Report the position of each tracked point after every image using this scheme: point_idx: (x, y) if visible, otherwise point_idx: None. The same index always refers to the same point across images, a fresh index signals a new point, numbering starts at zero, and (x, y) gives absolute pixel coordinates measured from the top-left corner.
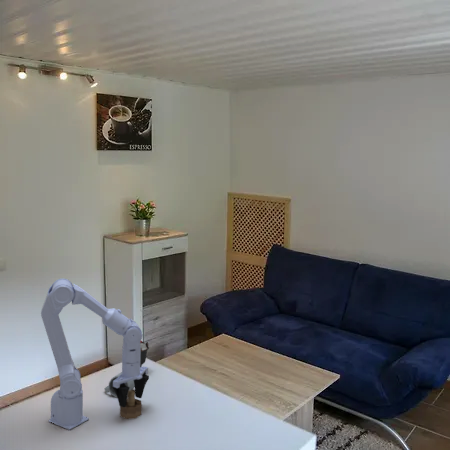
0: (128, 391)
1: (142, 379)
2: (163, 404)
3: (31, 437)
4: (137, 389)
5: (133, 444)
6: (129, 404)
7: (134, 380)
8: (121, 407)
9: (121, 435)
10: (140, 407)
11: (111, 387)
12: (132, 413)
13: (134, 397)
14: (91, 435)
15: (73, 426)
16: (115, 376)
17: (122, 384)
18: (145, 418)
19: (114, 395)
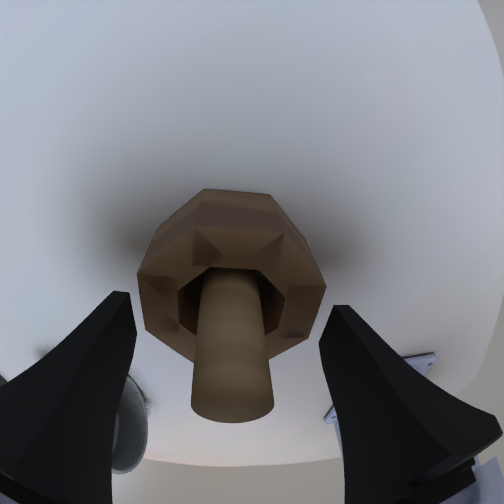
0: (252, 417)
1: (50, 469)
2: (16, 160)
3: (456, 377)
4: (113, 379)
5: (499, 78)
6: (260, 307)
7: (108, 469)
8: (309, 325)
9: (465, 166)
10: (213, 215)
11: (132, 429)
12: (292, 229)
13: (221, 330)
14: (467, 281)
15: (426, 358)
16: (122, 473)
17: (448, 497)
18: (237, 129)
19: (139, 397)
